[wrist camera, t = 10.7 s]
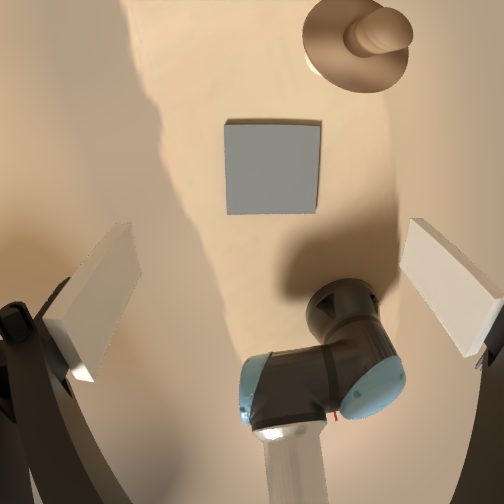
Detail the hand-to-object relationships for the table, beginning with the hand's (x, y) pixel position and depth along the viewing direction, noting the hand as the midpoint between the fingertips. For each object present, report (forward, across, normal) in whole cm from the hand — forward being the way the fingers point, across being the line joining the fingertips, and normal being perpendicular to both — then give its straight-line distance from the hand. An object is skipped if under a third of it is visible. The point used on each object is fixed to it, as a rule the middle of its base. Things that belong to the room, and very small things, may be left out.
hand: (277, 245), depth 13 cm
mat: (+33, -3, +4) cm, 33 cm away
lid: (+20, -11, -14) cm, 27 cm away
